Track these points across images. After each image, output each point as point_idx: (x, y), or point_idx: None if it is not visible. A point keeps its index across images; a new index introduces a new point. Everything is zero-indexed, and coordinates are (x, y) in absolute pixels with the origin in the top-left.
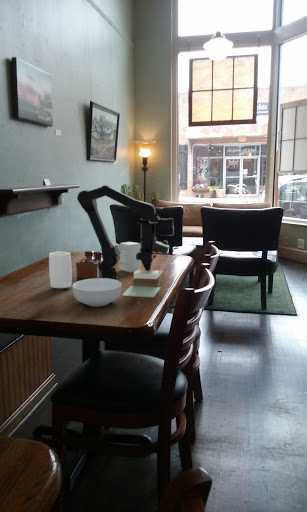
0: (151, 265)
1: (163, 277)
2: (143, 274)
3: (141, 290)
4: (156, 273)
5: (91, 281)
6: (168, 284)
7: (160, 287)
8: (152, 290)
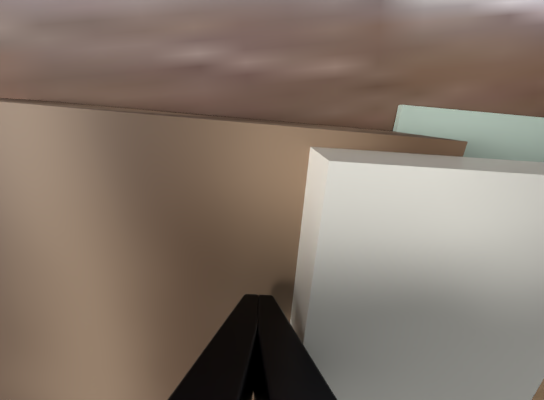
0: (181, 393)
1: (37, 101)
2: (524, 367)
3: None
4: None
5: None
6: (243, 22)
7: (407, 105)
8: None
